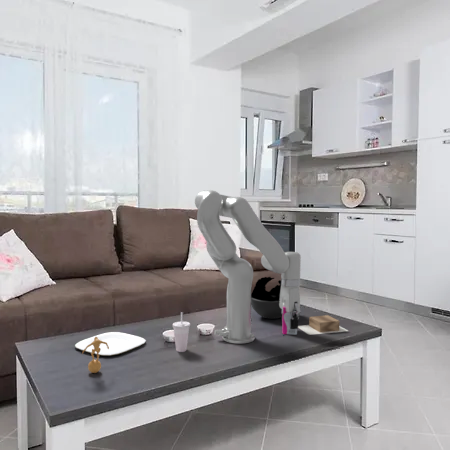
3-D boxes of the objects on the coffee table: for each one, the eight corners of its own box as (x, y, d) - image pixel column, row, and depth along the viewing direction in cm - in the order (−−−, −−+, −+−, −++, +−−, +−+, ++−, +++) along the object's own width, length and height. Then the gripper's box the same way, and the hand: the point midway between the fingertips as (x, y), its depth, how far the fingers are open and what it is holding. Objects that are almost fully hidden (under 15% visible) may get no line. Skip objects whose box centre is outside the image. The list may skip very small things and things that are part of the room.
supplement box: (296, 331, 181) (296, 304, 181) (297, 336, 176) (297, 308, 175) (281, 331, 182) (282, 303, 181) (282, 335, 176) (283, 307, 175)
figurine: (105, 367, 143) (105, 331, 142) (111, 374, 138) (111, 336, 137) (79, 373, 138) (79, 335, 137) (84, 379, 133) (84, 341, 132)
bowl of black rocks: (247, 312, 211) (247, 273, 209) (288, 312, 212) (289, 273, 211) (252, 324, 191) (252, 281, 189) (297, 324, 192) (298, 281, 191)
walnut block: (319, 332, 178) (320, 322, 178) (309, 326, 187) (309, 316, 187) (339, 330, 181) (339, 321, 181) (327, 324, 190) (328, 315, 189)
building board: (309, 336, 175) (309, 334, 175) (295, 327, 187) (295, 326, 187) (348, 332, 181) (348, 330, 181) (333, 324, 192) (333, 322, 192)
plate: (109, 362, 149) (109, 357, 148) (67, 349, 160) (67, 344, 160) (152, 343, 167) (152, 339, 167) (112, 333, 178) (112, 329, 178)
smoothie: (173, 353, 155) (173, 314, 154) (171, 347, 161) (171, 310, 161) (191, 352, 157) (191, 313, 156) (188, 346, 163) (188, 309, 162)
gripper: (273, 279, 185) (272, 320, 186) (291, 287, 168) (290, 333, 169) (289, 278, 187) (288, 319, 188) (309, 286, 170) (308, 331, 171)
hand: (289, 325), depth 179 cm, fingers closed on supplement box, 7 cm apart
